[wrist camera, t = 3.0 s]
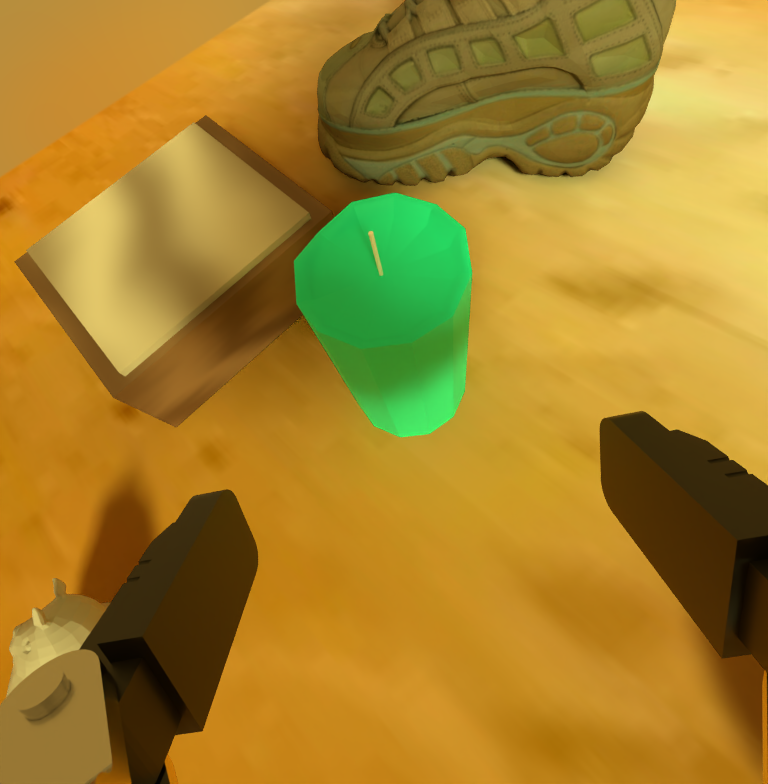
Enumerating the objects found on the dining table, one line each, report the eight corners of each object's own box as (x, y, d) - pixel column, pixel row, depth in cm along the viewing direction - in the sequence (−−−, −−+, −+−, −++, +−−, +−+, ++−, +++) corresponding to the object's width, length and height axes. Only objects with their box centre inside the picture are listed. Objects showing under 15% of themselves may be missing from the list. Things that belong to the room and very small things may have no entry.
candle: (440, 320, 25) (428, 130, 14) (483, 413, 23) (511, 273, 12) (342, 358, 25) (253, 199, 14) (375, 454, 23) (301, 354, 12)
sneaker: (368, 78, 33) (308, -261, 20) (639, 108, 28) (814, -318, 15) (311, 185, 30) (192, -128, 17) (603, 240, 25) (782, -143, 12)
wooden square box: (242, 180, 31) (202, 108, 26) (352, 270, 27) (329, 205, 22) (83, 308, 29) (7, 257, 24) (176, 427, 25) (107, 394, 20)
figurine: (81, 655, 23) (30, 533, 20) (200, 633, 24) (168, 513, 21) (-21, 863, 15) (-124, 717, 12) (158, 819, 16) (100, 674, 13)
